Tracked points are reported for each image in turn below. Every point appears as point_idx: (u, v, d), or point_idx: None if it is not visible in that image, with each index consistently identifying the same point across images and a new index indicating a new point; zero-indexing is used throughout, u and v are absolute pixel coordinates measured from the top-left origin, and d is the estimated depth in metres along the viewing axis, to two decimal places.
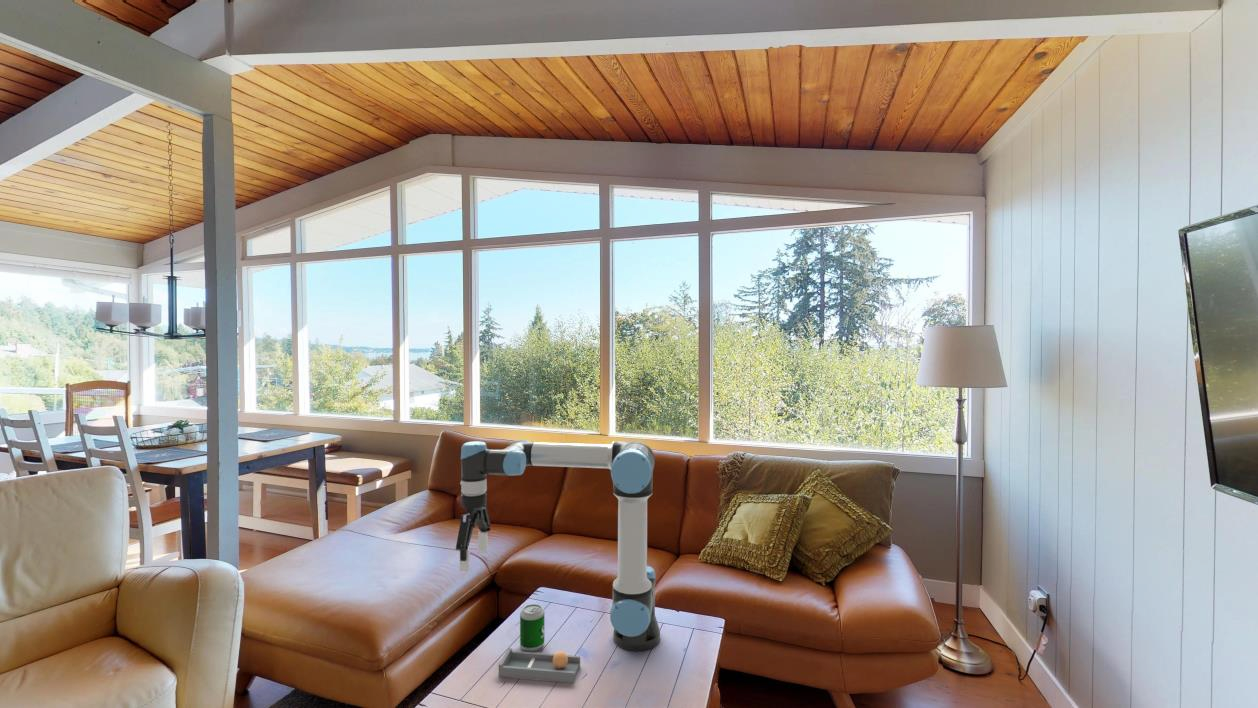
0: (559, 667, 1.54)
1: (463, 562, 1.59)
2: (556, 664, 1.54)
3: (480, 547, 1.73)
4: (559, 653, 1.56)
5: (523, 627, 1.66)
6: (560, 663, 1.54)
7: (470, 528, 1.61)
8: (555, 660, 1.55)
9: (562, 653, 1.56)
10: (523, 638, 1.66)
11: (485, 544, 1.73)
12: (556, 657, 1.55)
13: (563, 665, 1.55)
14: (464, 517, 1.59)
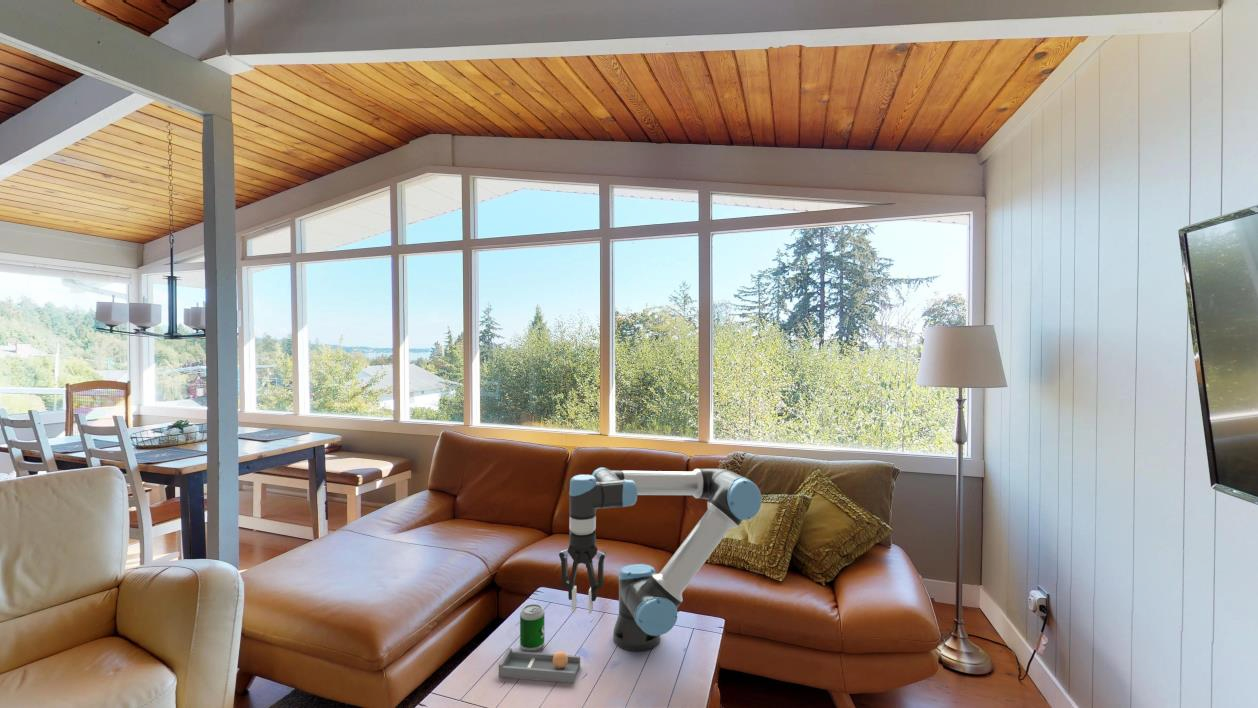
0: (559, 667, 1.54)
1: None
2: (556, 664, 1.54)
3: None
4: (559, 653, 1.56)
5: (523, 627, 1.66)
6: (560, 663, 1.54)
7: (572, 567, 1.54)
8: (555, 660, 1.55)
9: (562, 653, 1.56)
10: (523, 638, 1.66)
11: None
12: (556, 657, 1.55)
13: (563, 665, 1.55)
14: None
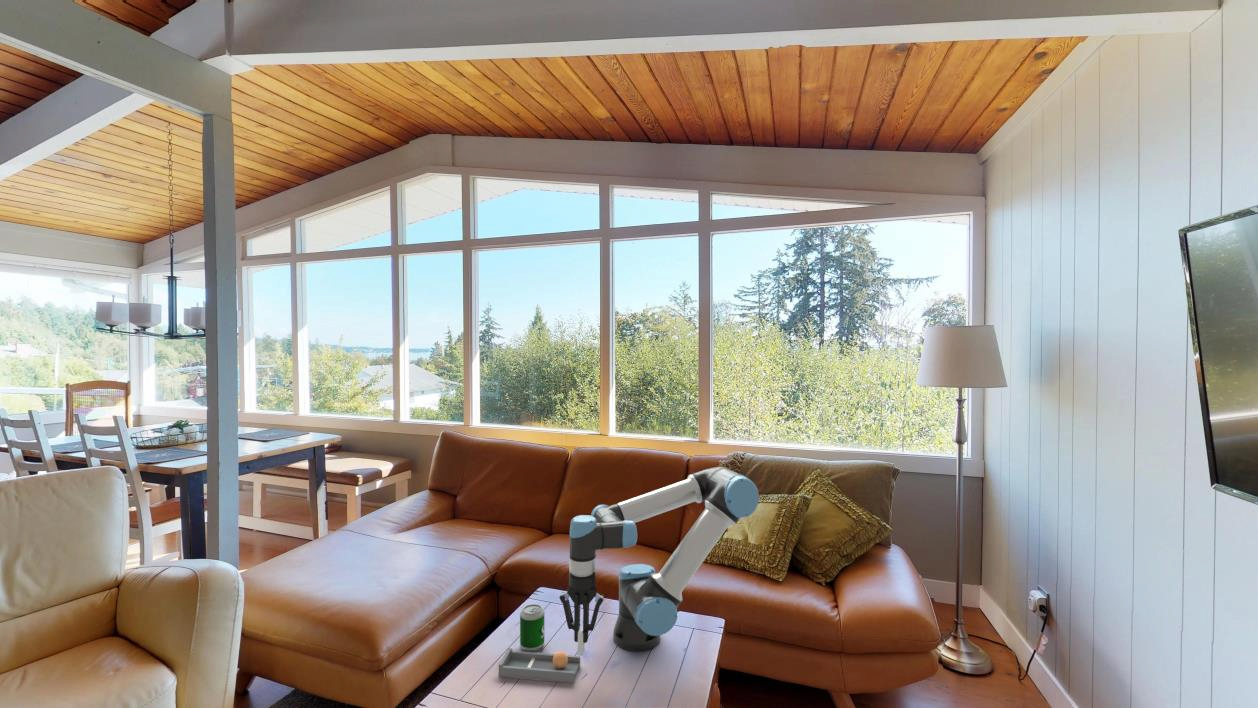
0: (559, 667, 1.54)
1: None
2: (556, 664, 1.54)
3: None
4: (559, 653, 1.56)
5: (523, 627, 1.66)
6: (560, 663, 1.54)
7: None
8: (555, 660, 1.55)
9: (562, 653, 1.56)
10: (523, 638, 1.66)
11: None
12: (556, 657, 1.55)
13: (563, 665, 1.55)
14: None
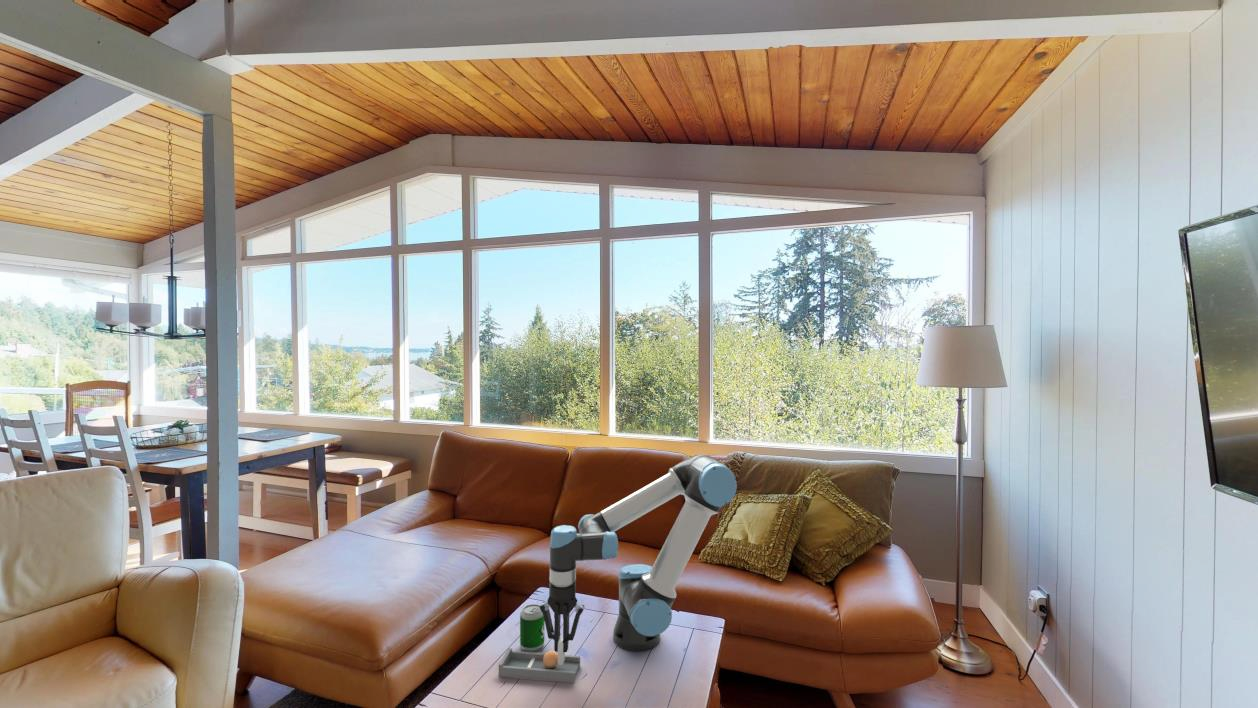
0: (552, 664, 1.55)
1: None
2: (548, 665, 1.54)
3: None
4: (543, 657, 1.56)
5: (523, 627, 1.66)
6: (548, 662, 1.54)
7: None
8: (545, 665, 1.55)
9: (545, 654, 1.57)
10: (523, 638, 1.66)
11: None
12: (543, 661, 1.55)
13: (552, 659, 1.55)
14: None
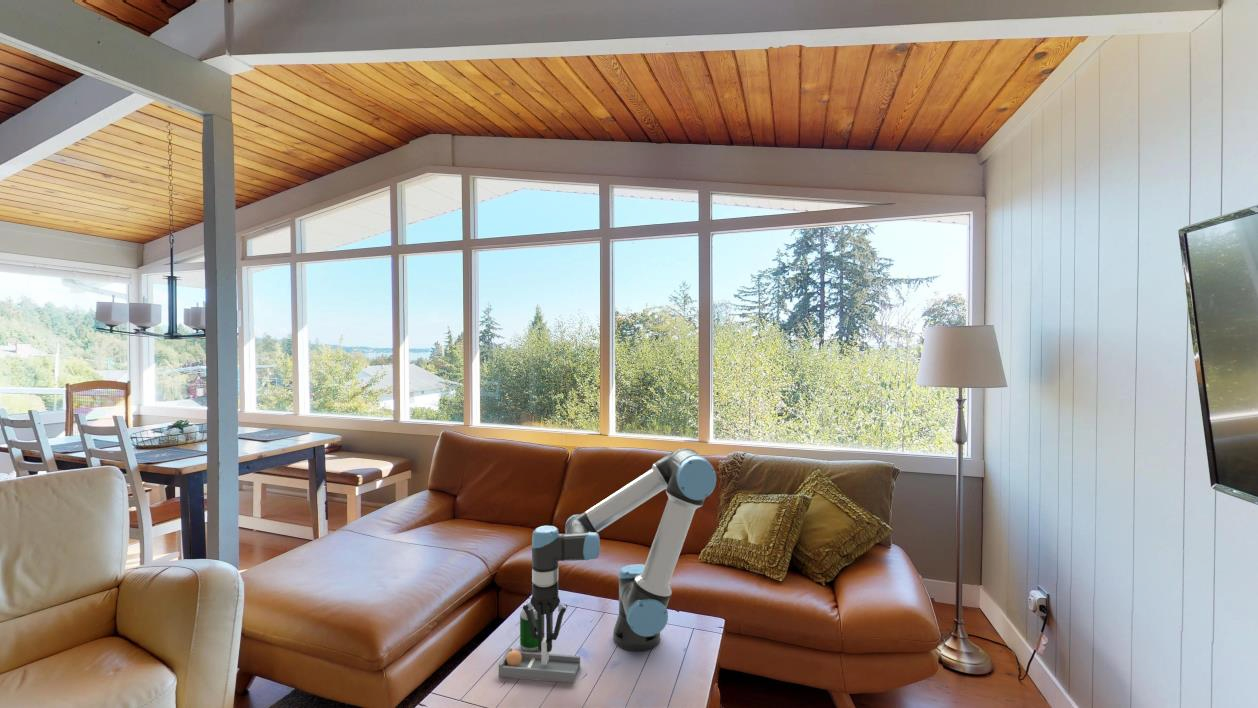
0: None
1: None
2: (509, 663, 1.56)
3: None
4: (513, 652, 1.57)
5: (523, 627, 1.66)
6: (513, 662, 1.56)
7: None
8: (508, 659, 1.56)
9: (516, 652, 1.57)
10: (523, 638, 1.66)
11: None
12: (510, 655, 1.56)
13: (516, 664, 1.56)
14: None
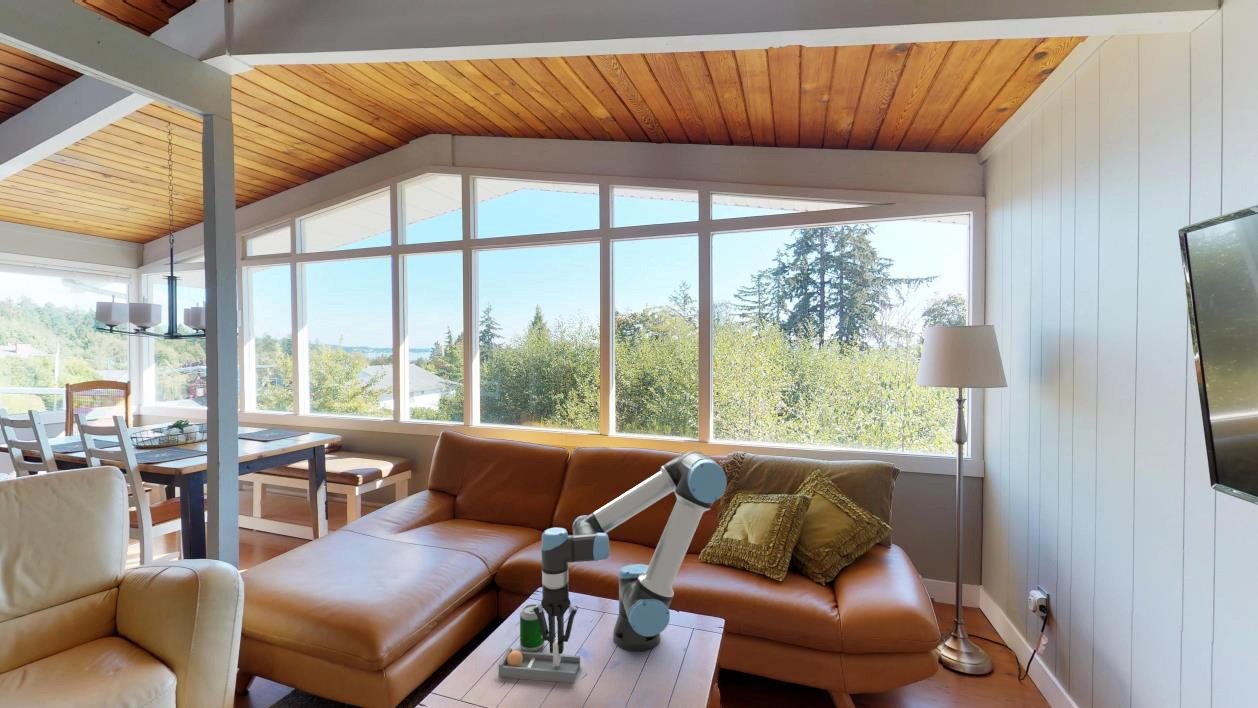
0: None
1: None
2: (510, 664, 1.55)
3: None
4: (515, 653, 1.57)
5: (523, 627, 1.66)
6: (514, 663, 1.55)
7: None
8: (509, 659, 1.56)
9: (518, 653, 1.57)
10: (523, 638, 1.66)
11: None
12: (512, 656, 1.56)
13: (517, 665, 1.56)
14: None
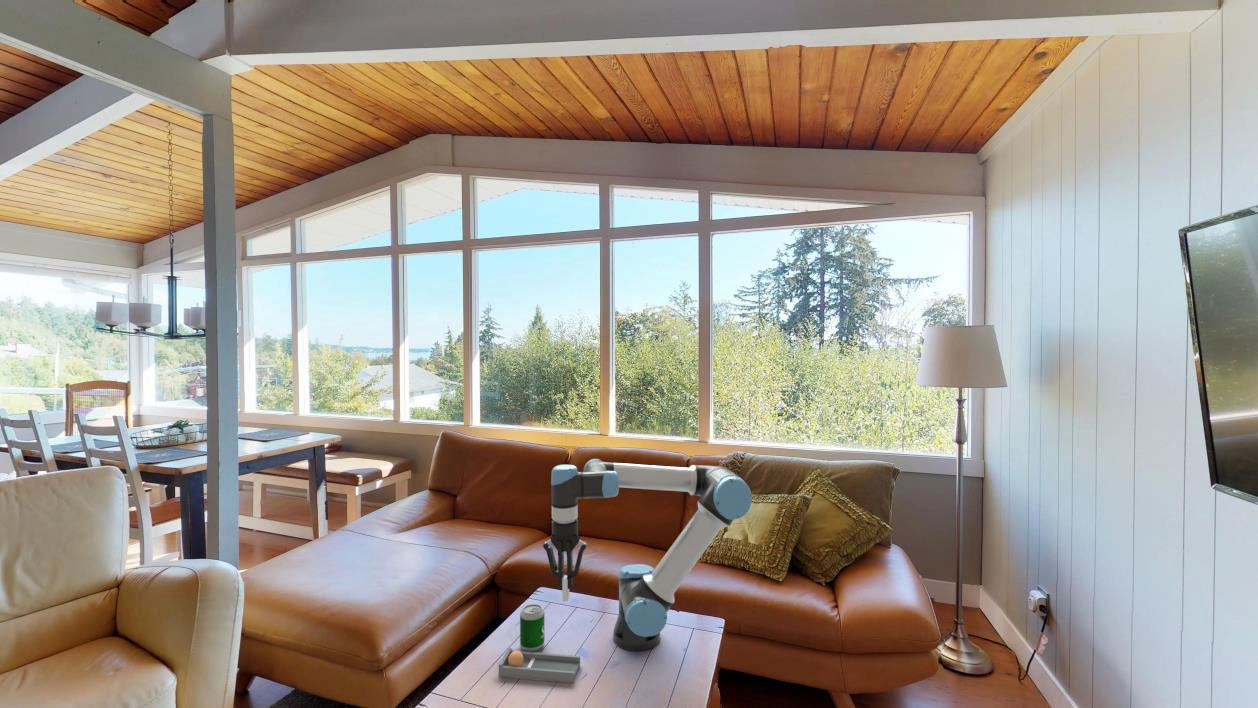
0: None
1: None
2: (511, 664, 1.55)
3: None
4: (517, 654, 1.56)
5: (523, 627, 1.66)
6: (515, 664, 1.55)
7: None
8: (511, 660, 1.55)
9: (519, 655, 1.57)
10: (523, 638, 1.66)
11: None
12: (513, 657, 1.56)
13: (517, 666, 1.56)
14: None
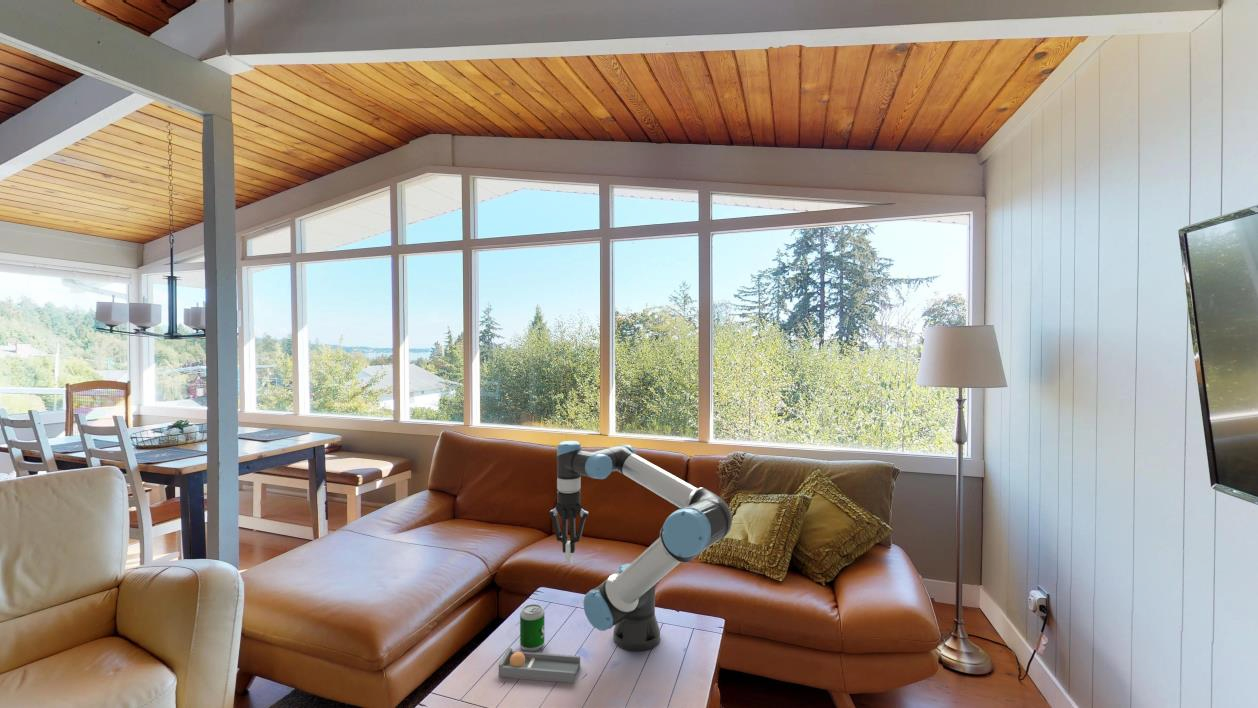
0: None
1: None
2: (512, 665, 1.55)
3: None
4: (519, 657, 1.56)
5: (523, 627, 1.66)
6: (516, 666, 1.55)
7: None
8: (513, 662, 1.55)
9: (522, 658, 1.56)
10: (523, 638, 1.66)
11: None
12: (516, 659, 1.55)
13: None
14: None
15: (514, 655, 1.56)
